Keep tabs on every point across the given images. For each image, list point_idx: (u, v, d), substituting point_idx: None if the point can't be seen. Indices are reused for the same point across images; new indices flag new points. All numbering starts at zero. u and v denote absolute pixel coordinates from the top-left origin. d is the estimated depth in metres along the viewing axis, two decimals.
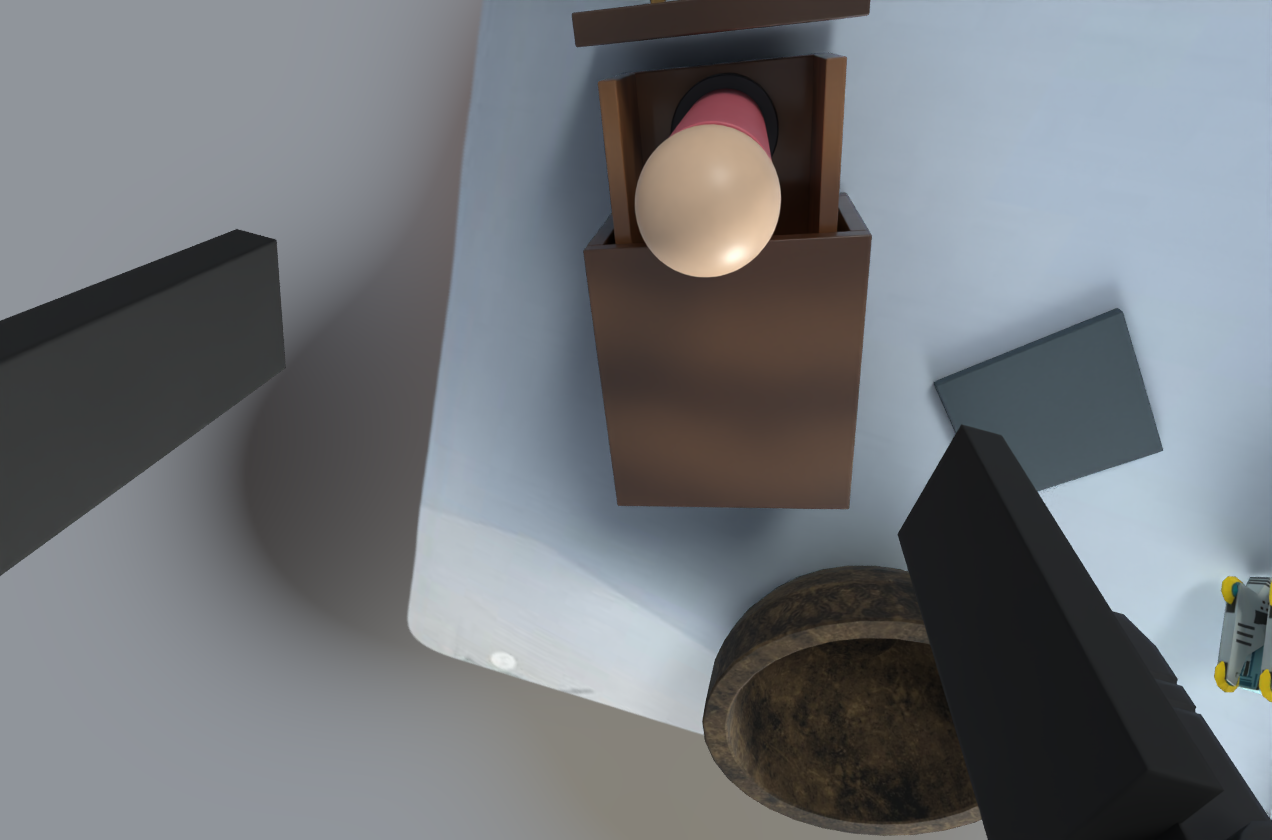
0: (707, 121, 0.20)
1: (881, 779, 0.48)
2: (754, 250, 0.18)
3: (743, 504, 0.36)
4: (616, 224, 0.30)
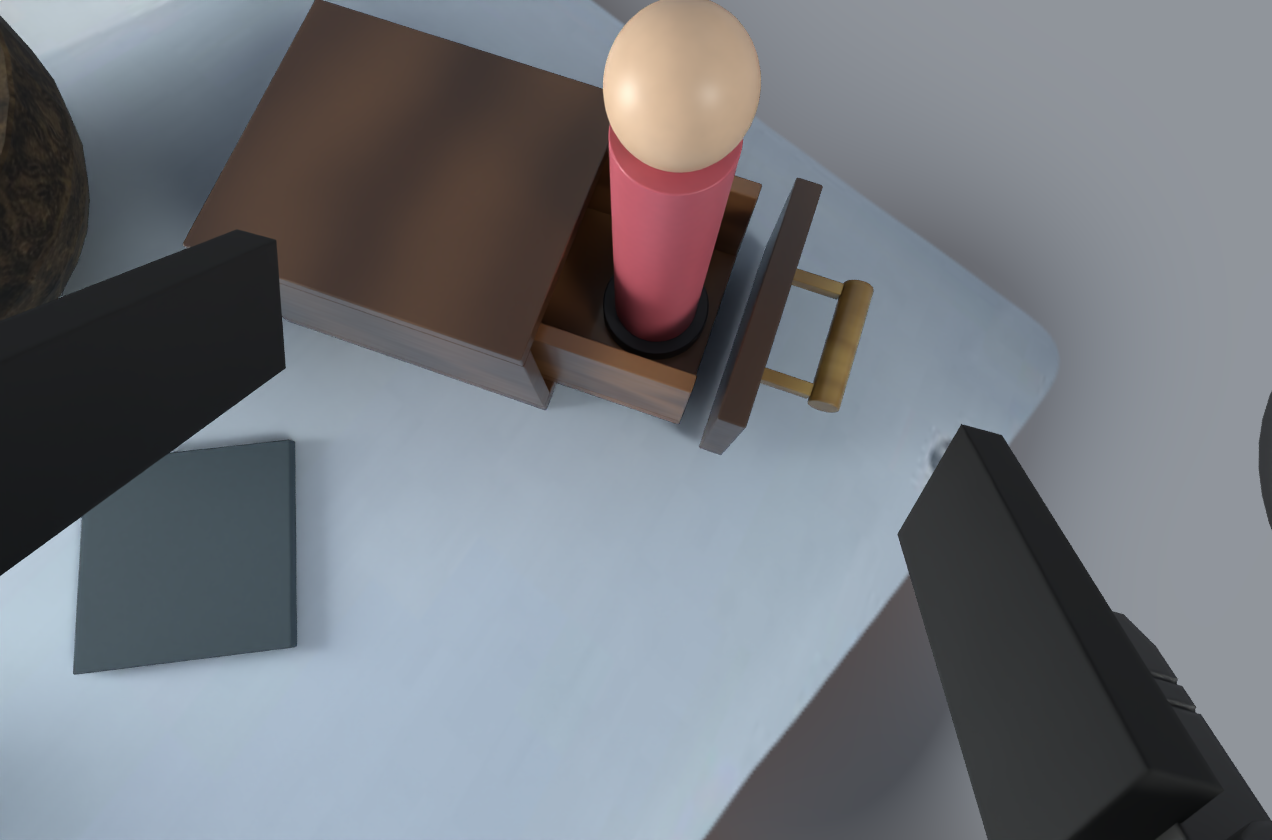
0: (739, 155, 0.19)
1: None
2: (625, 87, 0.16)
3: (248, 132, 0.28)
4: None
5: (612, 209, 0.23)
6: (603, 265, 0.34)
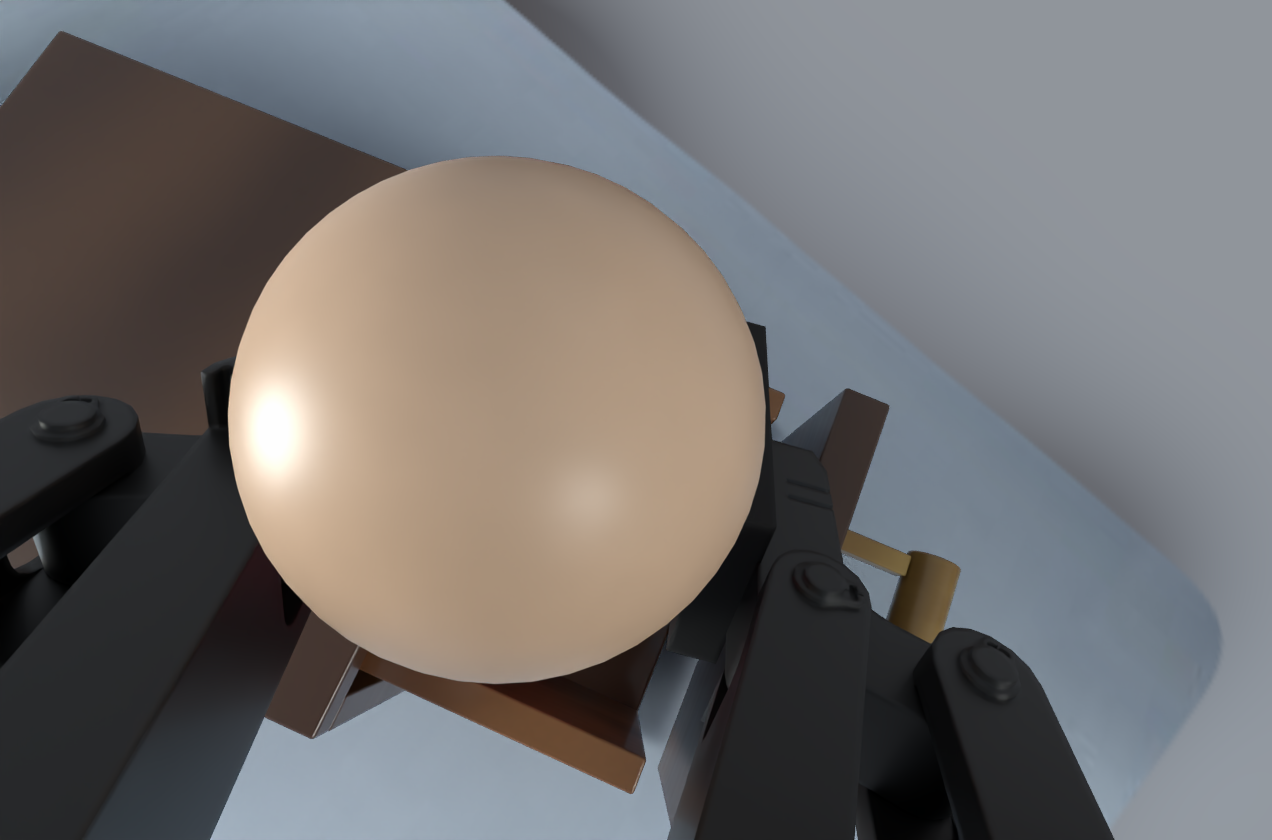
0: None
1: None
2: (244, 495, 0.04)
3: None
4: None
5: None
6: None
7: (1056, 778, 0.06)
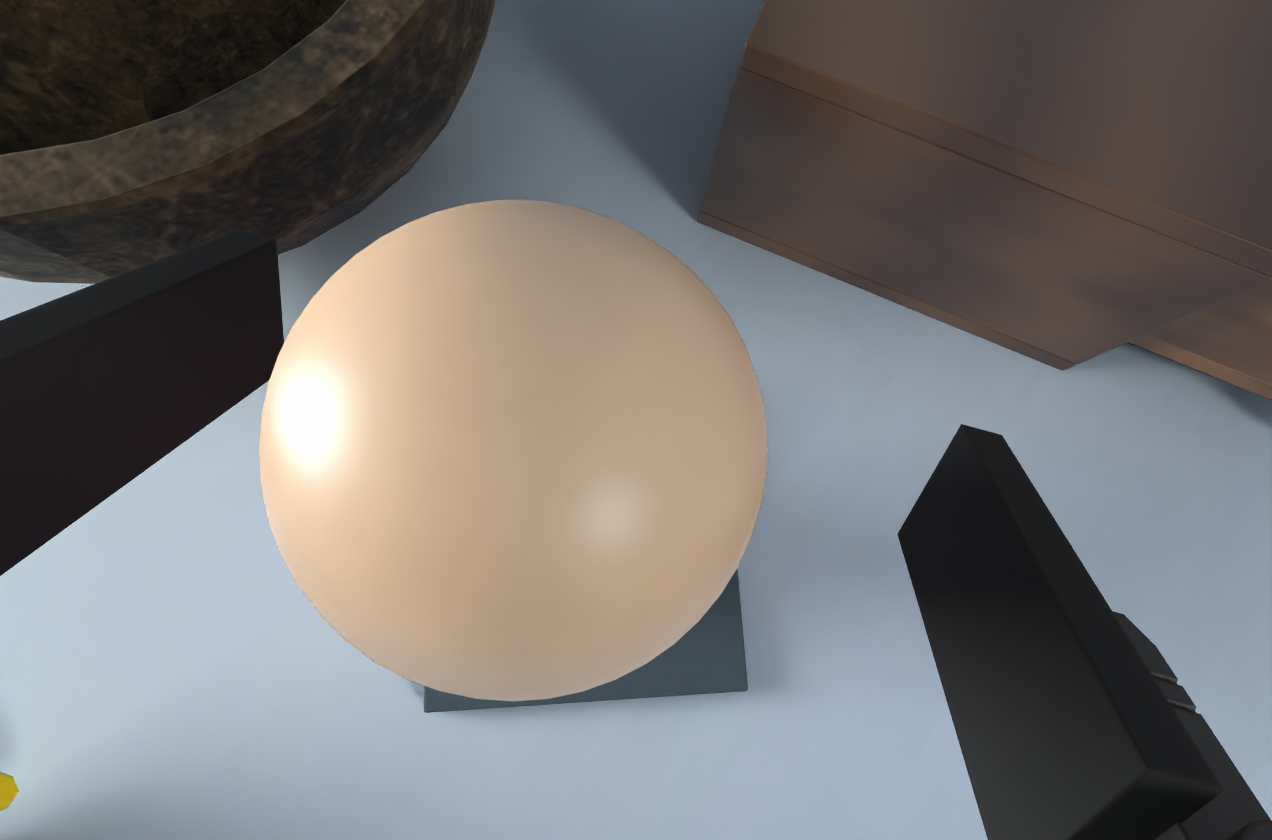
0: None
1: None
2: (278, 527, 0.05)
3: None
4: None
5: None
6: None
7: None
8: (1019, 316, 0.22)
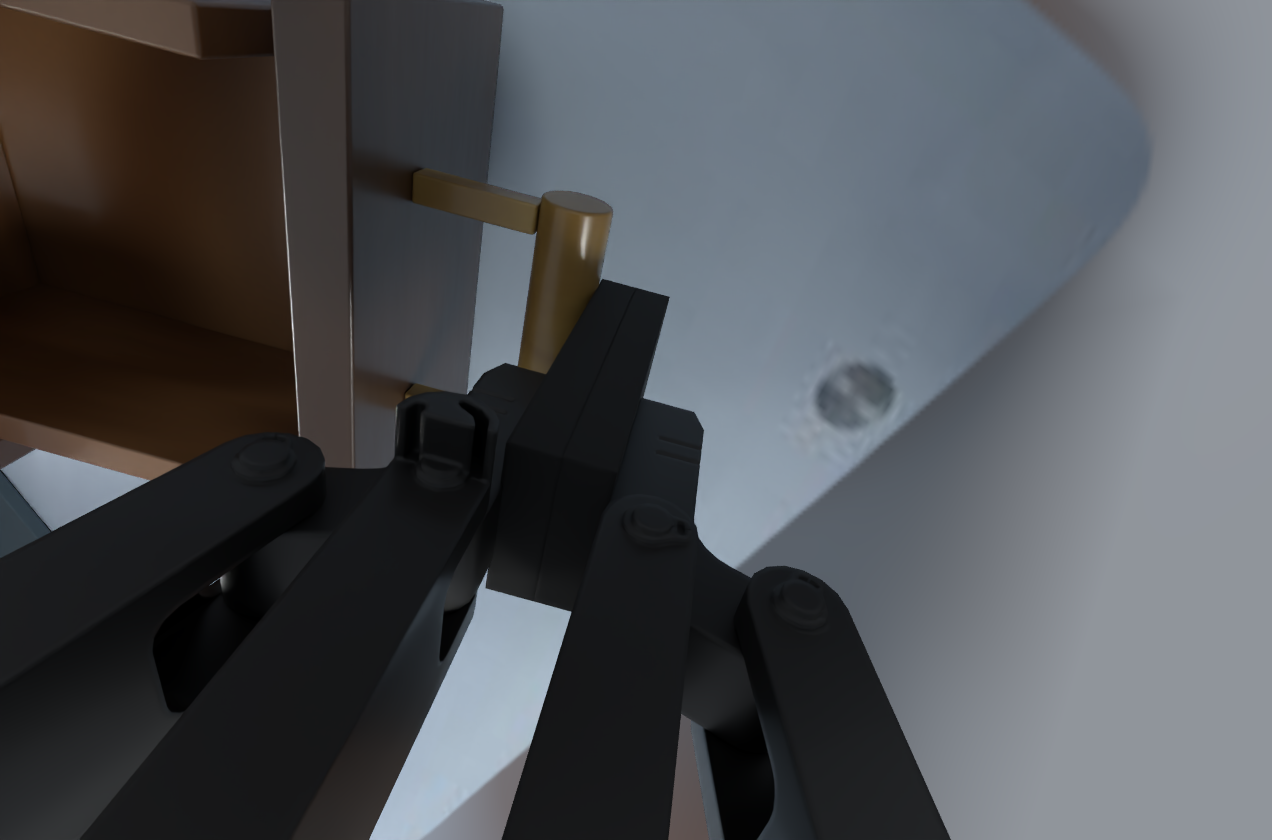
0: None
1: None
2: None
3: None
4: None
5: None
6: (132, 111, 0.16)
7: (857, 696, 0.06)
8: None
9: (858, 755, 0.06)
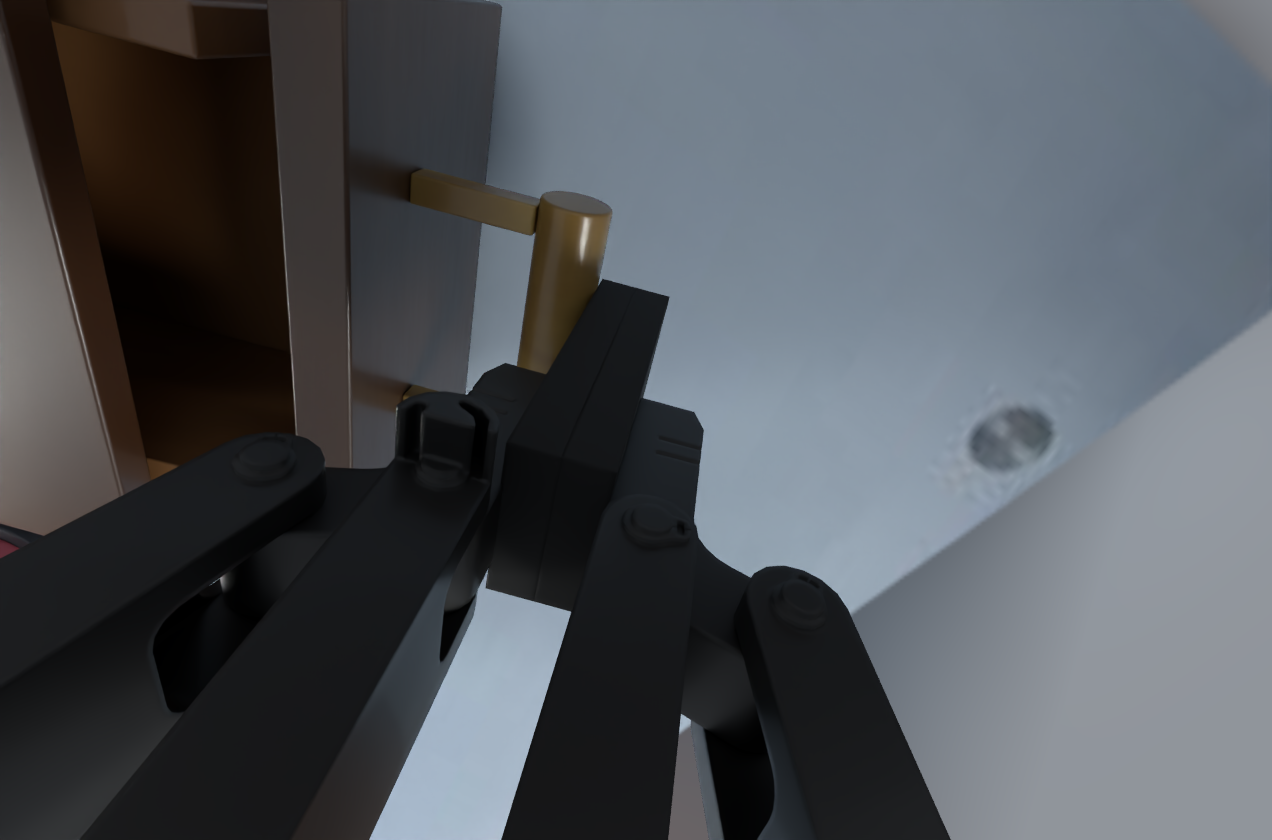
0: None
1: None
2: None
3: None
4: None
5: None
6: (128, 111, 0.16)
7: (856, 696, 0.06)
8: None
9: (857, 755, 0.06)
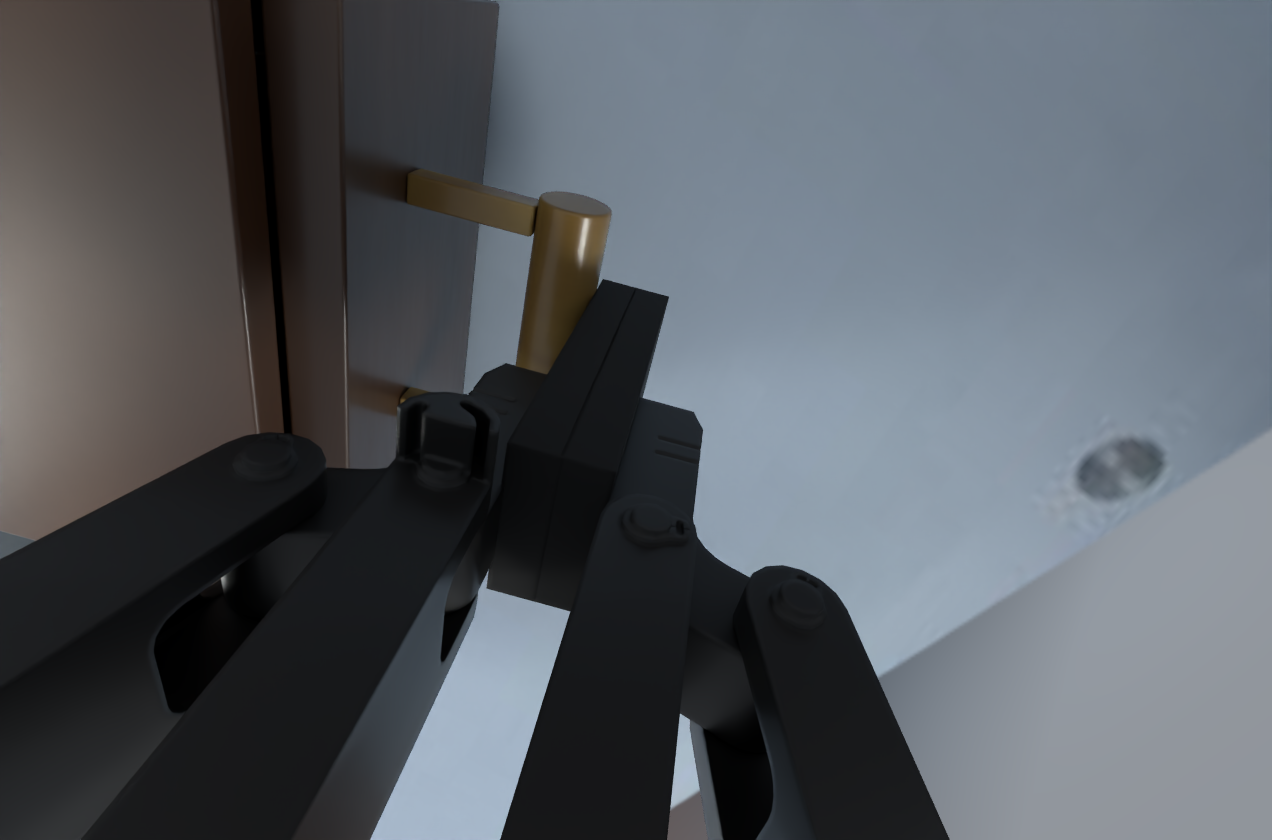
0: None
1: None
2: None
3: None
4: None
5: None
6: None
7: (856, 696, 0.06)
8: None
9: (857, 755, 0.06)
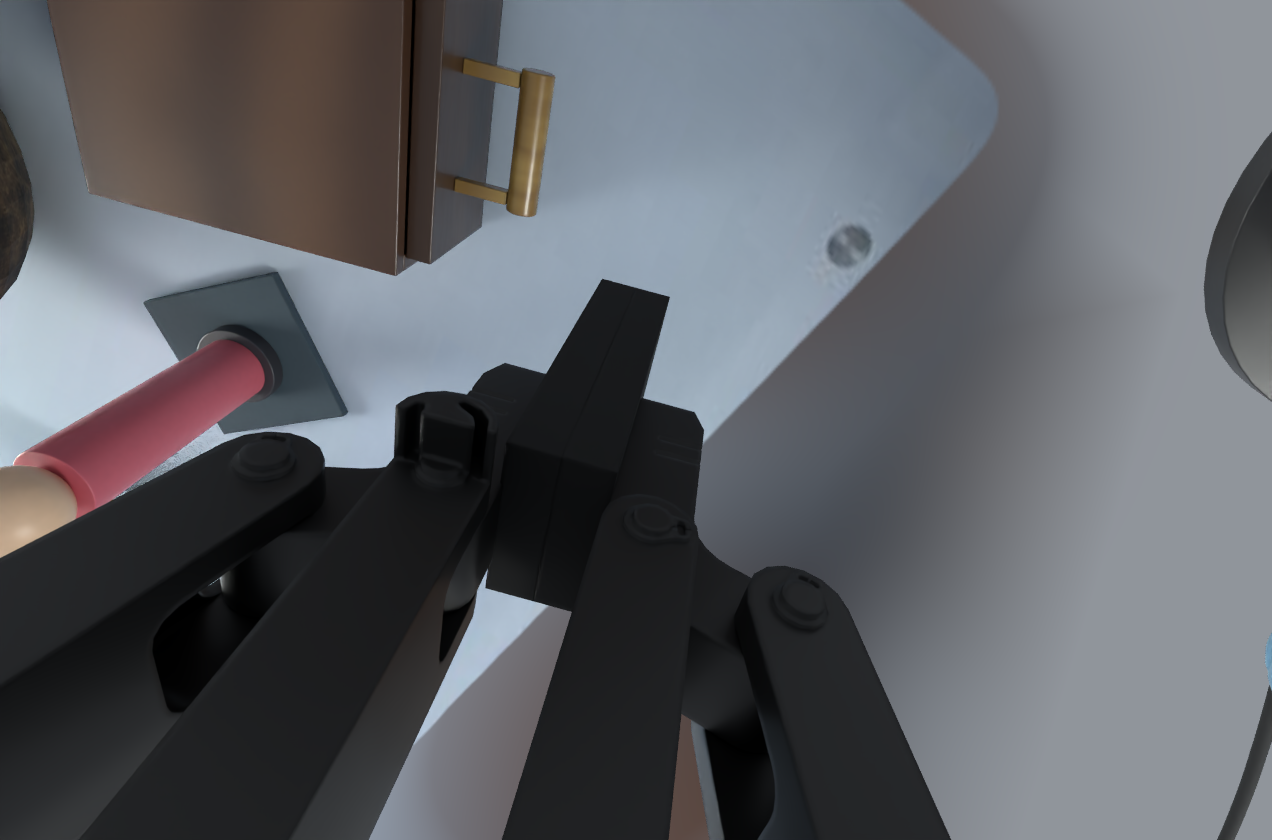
0: (95, 496, 0.31)
1: None
2: None
3: (64, 60, 0.27)
4: None
5: None
6: None
7: (856, 697, 0.06)
8: None
9: (858, 756, 0.06)
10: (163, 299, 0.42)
